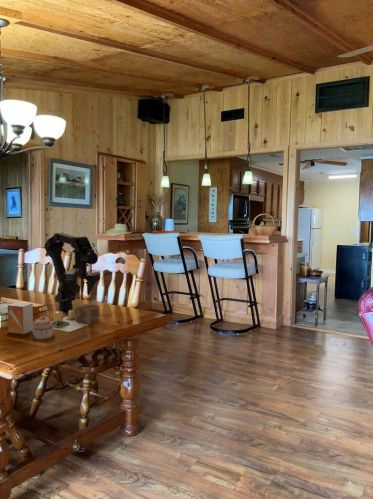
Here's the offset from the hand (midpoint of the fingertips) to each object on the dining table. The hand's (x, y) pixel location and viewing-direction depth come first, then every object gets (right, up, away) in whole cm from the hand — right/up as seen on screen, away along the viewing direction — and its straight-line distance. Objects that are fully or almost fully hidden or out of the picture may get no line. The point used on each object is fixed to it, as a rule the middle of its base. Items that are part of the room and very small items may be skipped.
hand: (81, 294), depth 201 cm
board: (-2, -13, -12) cm, 18 cm away
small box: (-20, -15, -25) cm, 35 cm away
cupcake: (-7, -15, -32) cm, 36 cm away
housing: (+5, -12, -9) cm, 16 cm away
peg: (-6, -12, -16) cm, 21 cm away
